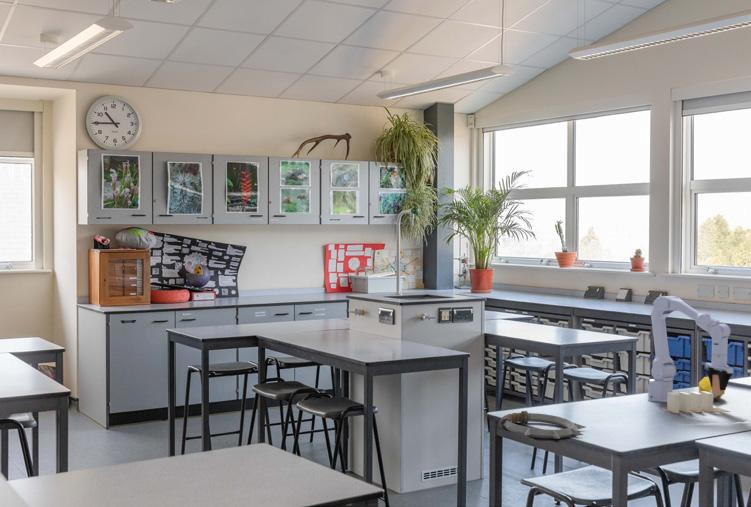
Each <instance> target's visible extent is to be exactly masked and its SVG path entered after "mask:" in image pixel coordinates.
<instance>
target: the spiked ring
mask: <svg viewBox="0 0 751 507" xmlns="http://www.w3.org/2000/svg"><path fill="white" fill-rule="evenodd" d="M529 422H531V423H532V422H533V423H543V424H549V425H554V424H555V426H559V427H562V429H561V428H560V429H559V428H558V429H547V428H544V429H543V428H534V427H528V426H524V425H519V424H517V423H522V424H528V423H529ZM515 423H516V424H515ZM498 426H499V428H500V429H501V430H503V431H508V432H510V433H513V434H515V435H520V436H522V437H528V438H535V439H555V440H556V439H564V438H568V437H576V436H584V434H583V433H581V432H579V430H581V429H585V428H587V427H586V426H585V425H581V424H578V423H575V422H573V421H571V420H569V419H567V418H564V417H560V416H556V415H552V414H545V413H539V412H538V413H534V412H533V413H532V412H528V411H527V410H521V412H512V413H508V414H506V415H504V416H502V417H501V418H500V419H499V421H498Z"/></svg>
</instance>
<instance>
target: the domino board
mask: <svg viewBox="0 0 751 507" xmlns="http://www.w3.org/2000/svg"><path fill="white" fill-rule="evenodd" d="M660 411H664V412H666V413H668V414H672V415H677V414H678V415H679V414H680V415H682V414H707V413H708V414H710V413H731V411H729V410H726V409H723V408H720V407H713V412H708V411H705V410H702V412H696V411H693V410H690V412H683V411H680V410H679V413H674V412H671V411H668V410H667V408H663V409H660Z"/></svg>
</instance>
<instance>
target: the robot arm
mask: <svg viewBox="0 0 751 507" xmlns="http://www.w3.org/2000/svg"><path fill="white" fill-rule="evenodd" d="M652 304H653V306H652V310H651V314H650V318H651V319H650V320H651V327H652V336H653V345H654V352H655V353H654V355H655V357H654V359H653V360H652V363H651V364H652V367H651V370H650V371H651V376H652V377H653V378H650V379H649V382H648V395H647V396H648V397H647V398H648V400H647V401H648V402H664V403H667V394H668V392H673V389H674V388H673V385H674V384H673V383H674V377H675V376H676V375H677V366H676V365H675V364H674V360H673V358H671V355H670V350H669V349H670V348H669V343H668V341H669V340H668V334H667V323H666V318H667V317H668V316H669V315H670V314H671V313H673V312H675V311H676V312H677V311H679V312H680V313H682V314H684V315H685V316H687V317H689V318H690V319H692V320H694V321H695V324H696V326H698V327H699V328H701V329H703V330H704V331H705V332H706V333H708V334H709V336H710V337H711V362H705V367H704V368H706V369H705V373H706V375H707V377H709V380H710V384H711V387H712V377H713V374H718V377H719V385H720V390H725V391H726V390H727V388H728V387H727V386H728V383H729V381H730V379H731V377H732V376H733V374H734V368H733V367H730V365H728V347H729V346H728V342H729V337H730V335H731V332H732V330H731V328H730V326H729V325H728V324H727V323H724V322H723V323H721V321H720V320H718V319H717V320H716V319H715V318H714V317H712V316H711V314H710V313H708V312H707V313H706V312H703V313H702V312H698V311H697V310H696V309H695V308H693V307H692V306H690V305H689V304H687V302H685V301H683V299H682V298H679V297H678V296H676V295H660V296H658V297H656V298H655V299H654V301H653V302H652Z"/></svg>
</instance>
